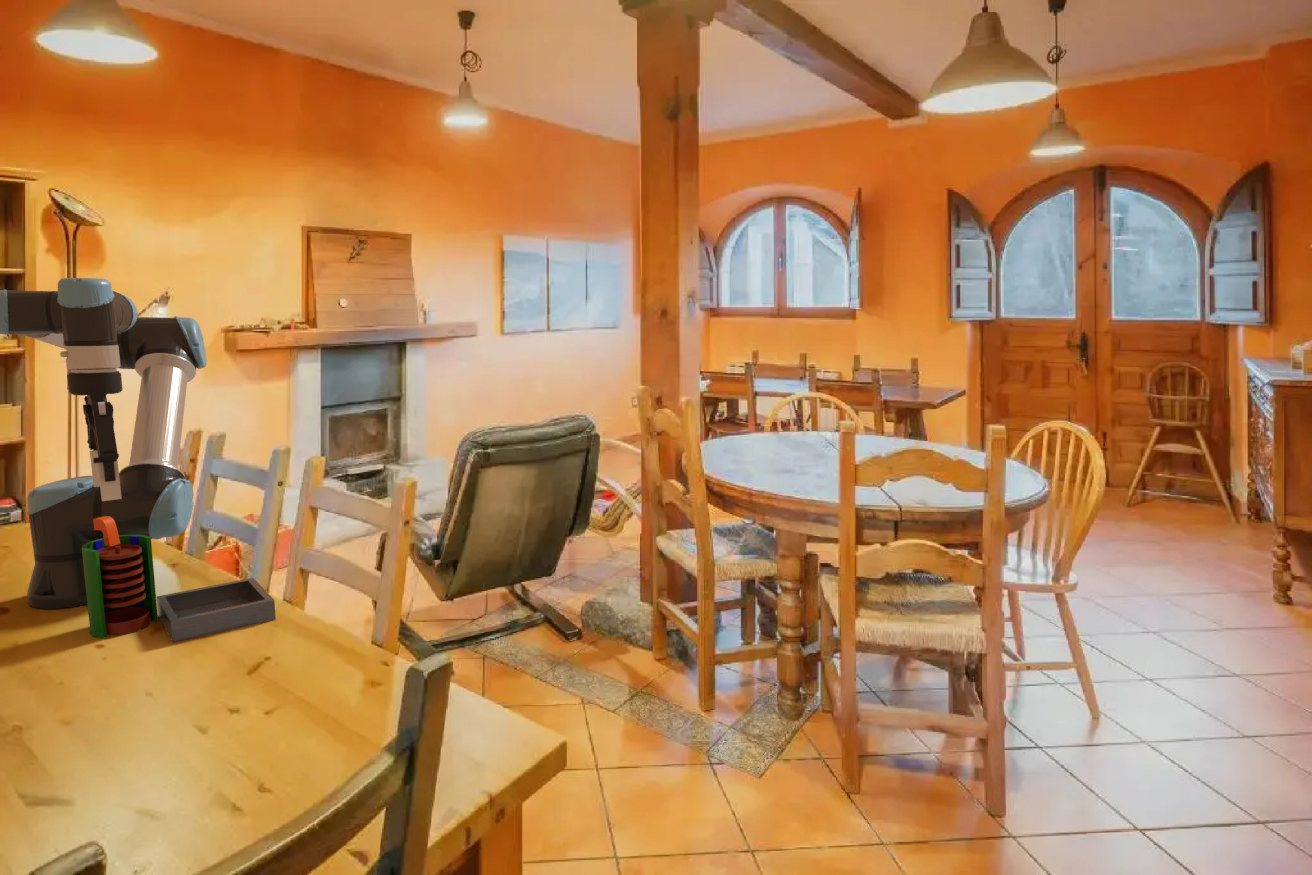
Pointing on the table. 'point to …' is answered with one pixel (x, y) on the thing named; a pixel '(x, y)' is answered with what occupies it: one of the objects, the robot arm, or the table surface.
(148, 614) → the motor
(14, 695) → the table surface
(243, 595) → the tray
